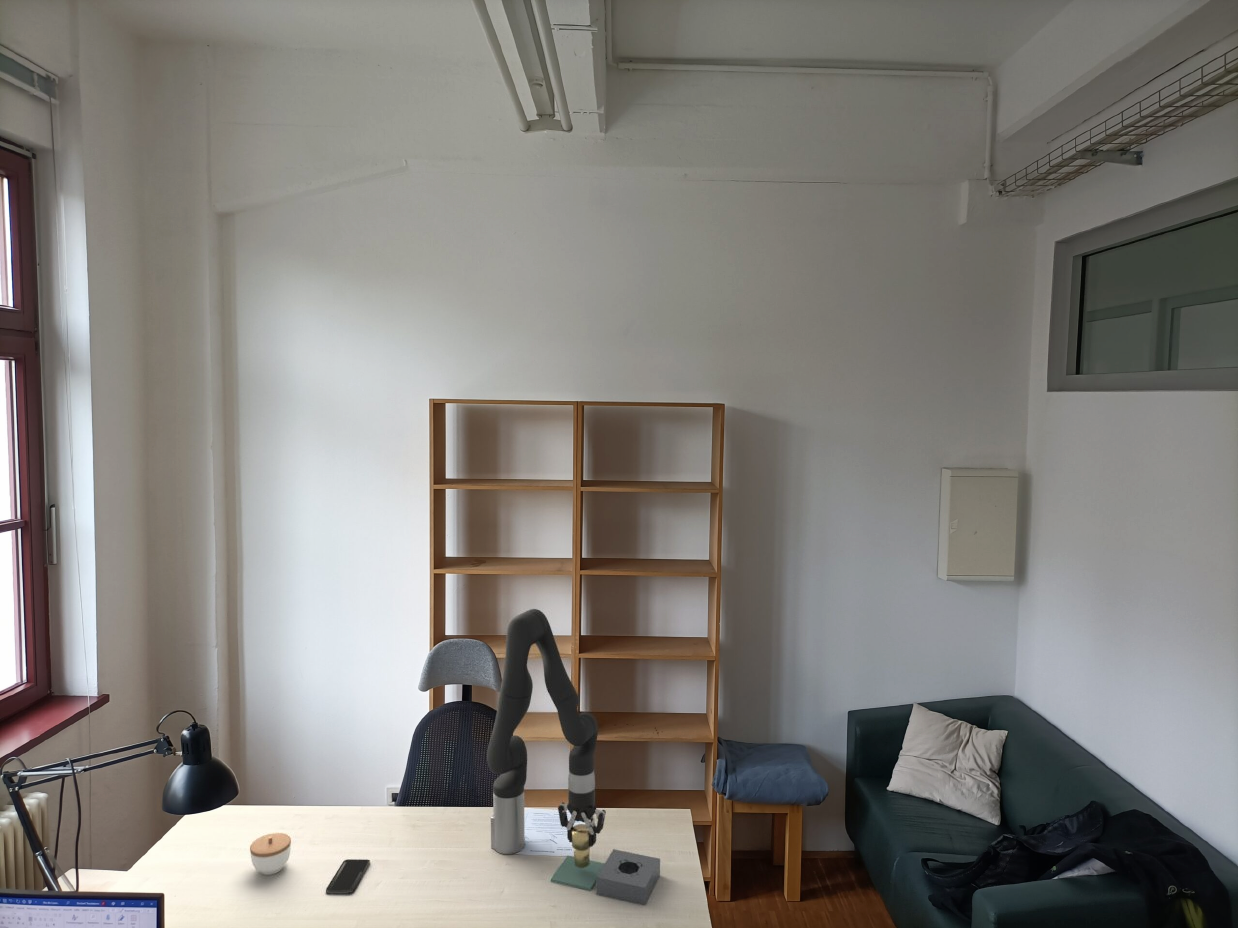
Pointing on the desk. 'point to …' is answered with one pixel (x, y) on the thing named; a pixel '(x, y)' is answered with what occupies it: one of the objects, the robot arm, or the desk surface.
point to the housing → (628, 877)
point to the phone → (348, 877)
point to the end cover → (581, 845)
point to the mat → (577, 874)
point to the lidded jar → (270, 852)
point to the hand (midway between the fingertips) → (581, 842)
